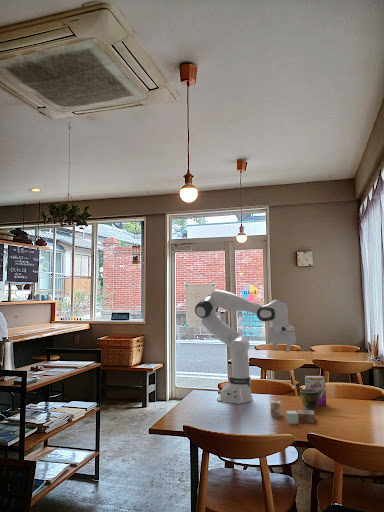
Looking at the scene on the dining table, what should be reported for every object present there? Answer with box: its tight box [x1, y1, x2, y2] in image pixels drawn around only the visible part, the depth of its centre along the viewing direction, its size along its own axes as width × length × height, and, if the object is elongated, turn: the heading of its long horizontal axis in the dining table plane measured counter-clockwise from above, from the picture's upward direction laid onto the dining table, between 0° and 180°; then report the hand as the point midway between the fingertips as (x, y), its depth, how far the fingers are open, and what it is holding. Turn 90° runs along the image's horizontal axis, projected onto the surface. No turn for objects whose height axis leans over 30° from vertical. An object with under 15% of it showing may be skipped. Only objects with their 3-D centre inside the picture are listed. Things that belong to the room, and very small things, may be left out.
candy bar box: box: [304, 375, 327, 407], centre depth 229 cm, size 11×5×16 cm, turn 84°
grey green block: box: [285, 410, 299, 425], centre depth 197 cm, size 5×5×5 cm
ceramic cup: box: [299, 388, 318, 411], centre depth 220 cm, size 13×10×10 cm
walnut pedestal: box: [297, 409, 316, 424], centre depth 200 cm, size 8×8×4 cm
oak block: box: [270, 400, 282, 418], centre depth 209 cm, size 5×5×7 cm
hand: (281, 351), depth 224 cm, fingers open, 8 cm apart
